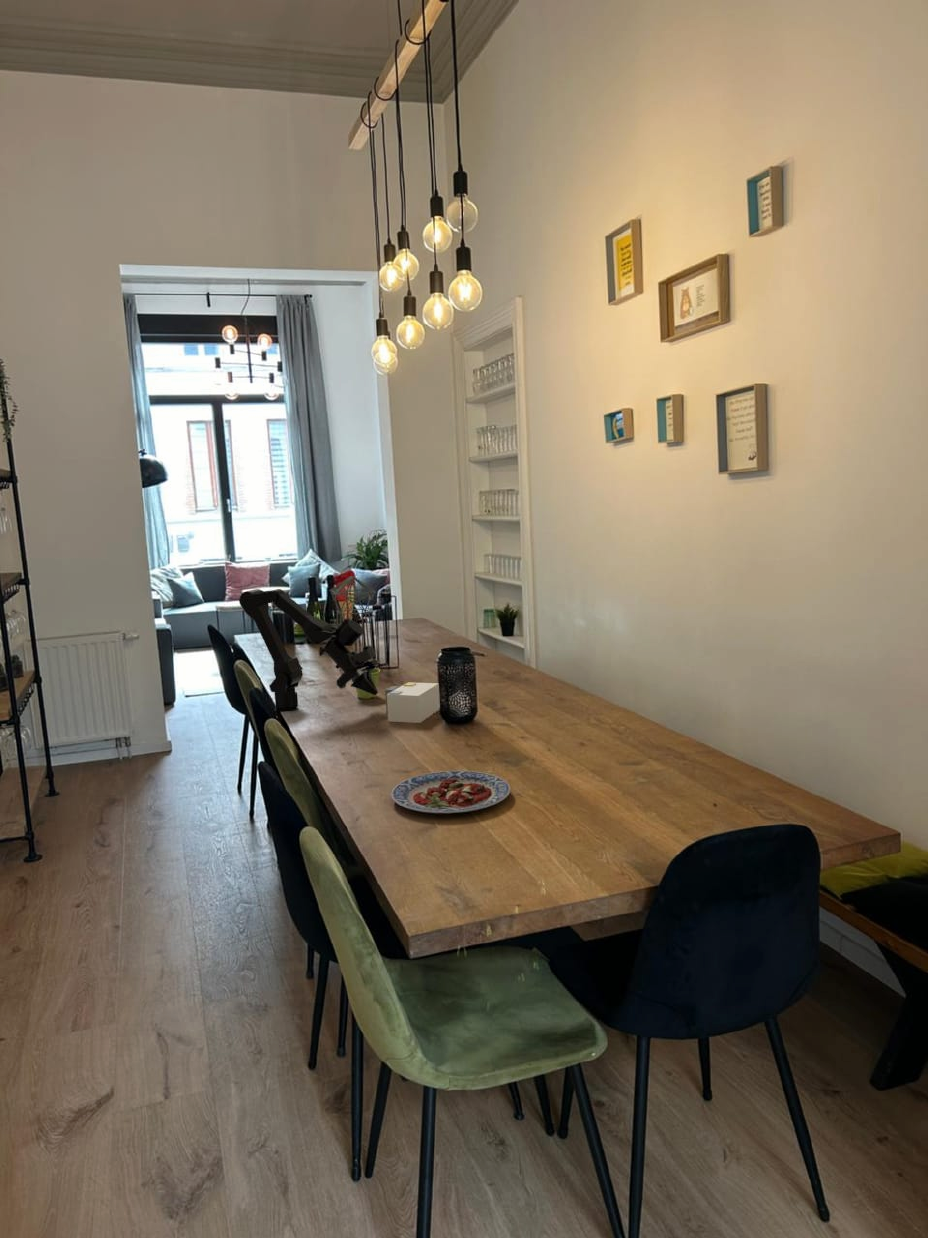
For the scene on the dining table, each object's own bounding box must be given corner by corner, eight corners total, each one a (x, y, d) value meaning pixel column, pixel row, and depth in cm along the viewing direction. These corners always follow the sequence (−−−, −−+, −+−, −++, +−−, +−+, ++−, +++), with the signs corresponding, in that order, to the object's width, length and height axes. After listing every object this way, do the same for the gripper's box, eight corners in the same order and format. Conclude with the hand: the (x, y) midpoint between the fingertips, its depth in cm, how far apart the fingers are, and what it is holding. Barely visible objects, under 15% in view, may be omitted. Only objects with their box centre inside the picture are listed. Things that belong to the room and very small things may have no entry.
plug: (386, 714, 265) (385, 689, 264) (393, 710, 270) (392, 685, 269) (415, 716, 262) (414, 691, 261) (422, 711, 267) (421, 687, 265)
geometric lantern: (331, 666, 343) (327, 576, 338) (371, 663, 347) (368, 574, 343) (338, 673, 328) (334, 579, 323) (380, 670, 332) (376, 577, 328)
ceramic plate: (445, 772, 211) (444, 760, 211) (534, 793, 195) (533, 780, 194) (366, 805, 192) (366, 792, 191) (458, 831, 175) (457, 817, 175)
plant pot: (384, 693, 295) (382, 667, 293) (378, 700, 285) (377, 673, 284) (356, 693, 296) (354, 668, 294) (350, 700, 286) (348, 674, 285)
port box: (387, 721, 259) (386, 693, 258) (409, 707, 274) (407, 681, 273) (420, 723, 256) (418, 694, 254) (439, 709, 270) (438, 682, 269)
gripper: (344, 644, 258) (380, 683, 256) (371, 633, 276) (405, 669, 274) (321, 669, 262) (356, 708, 260) (349, 657, 280) (383, 693, 278)
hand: (376, 693), depth 268 cm, fingers closed
